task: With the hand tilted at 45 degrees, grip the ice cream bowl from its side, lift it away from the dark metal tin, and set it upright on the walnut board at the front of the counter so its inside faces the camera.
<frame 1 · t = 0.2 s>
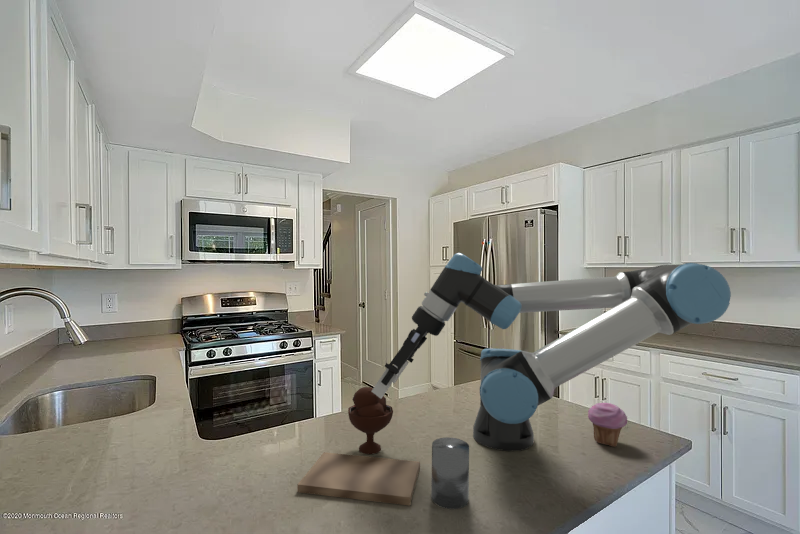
hand: (383, 387, 95), 15 cm above the counter, tool tilted 35°, fingers open, 13 cm apart
cupcake: (607, 443, 101), on the counter
walnut board: (362, 479, 82), on the counter
ice cream bowl: (369, 449, 96), on the counter
metal tin: (449, 498, 76), on the counter
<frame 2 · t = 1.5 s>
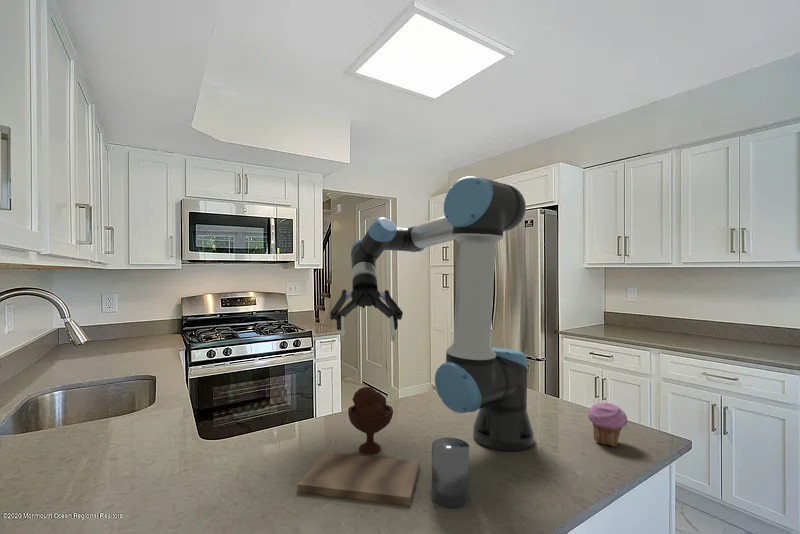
hand: (368, 338, 106), 25 cm above the counter, tool tilted 45°, fingers open, 13 cm apart
nothing on the counter moved.
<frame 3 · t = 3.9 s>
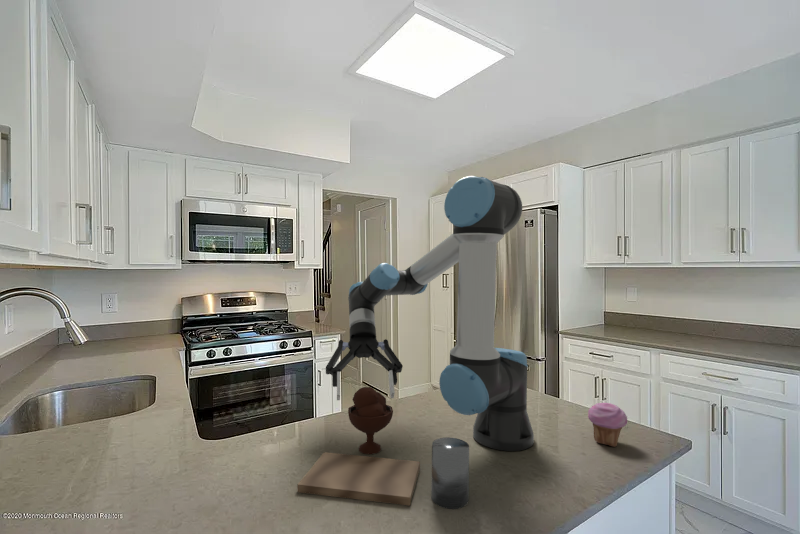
hand: (365, 396, 100), 11 cm above the counter, tool tilted 45°, fingers open, 13 cm apart
nothing on the counter moved.
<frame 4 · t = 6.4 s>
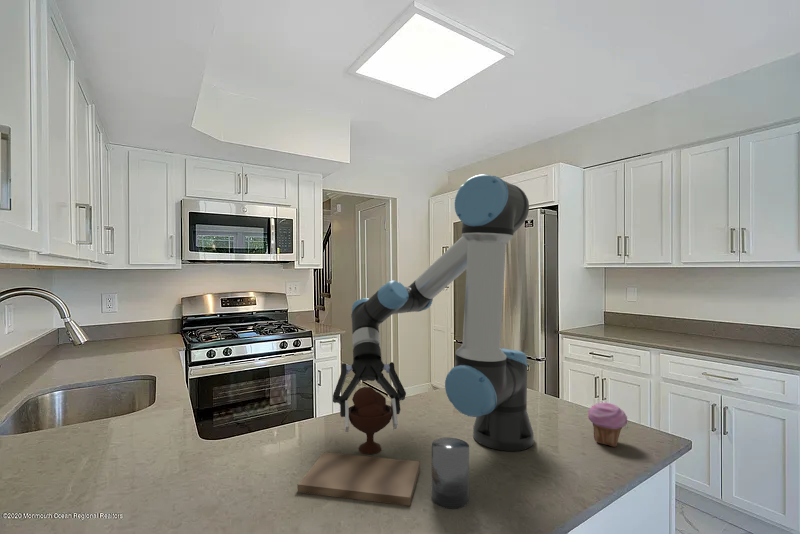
hand: (371, 428, 93), 6 cm above the counter, tool tilted 45°, fingers closed on ice cream bowl, 11 cm apart
ice cream bowl: (370, 449, 96), on the counter, touching gripper
everything else where it was.
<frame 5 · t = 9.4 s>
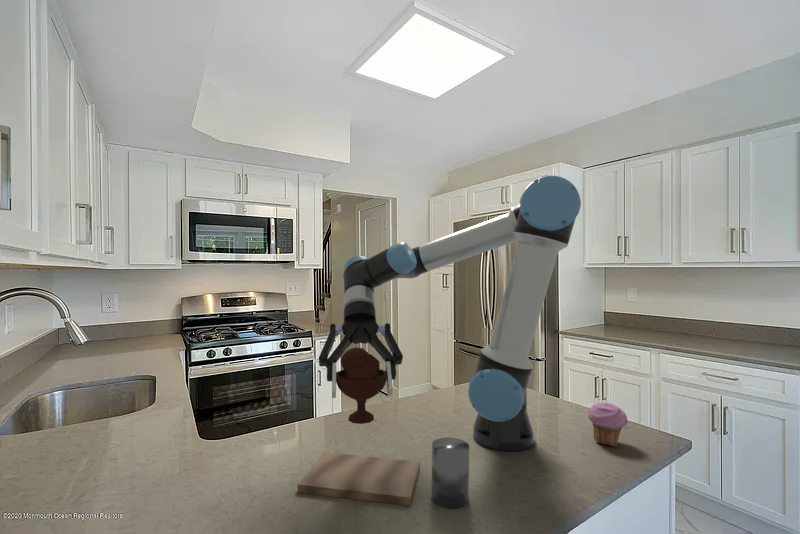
hand: (362, 393, 81), 18 cm above the counter, tool tilted 45°, fingers closed on ice cream bowl, 11 cm apart
ice cream bowl: (361, 419, 83), point 12 cm above the counter, touching gripper
everything else where it was.
when the fingers open (9 cm above the counter, at t = 12.7 s): ice cream bowl drops 1 cm, resting on walnut board.
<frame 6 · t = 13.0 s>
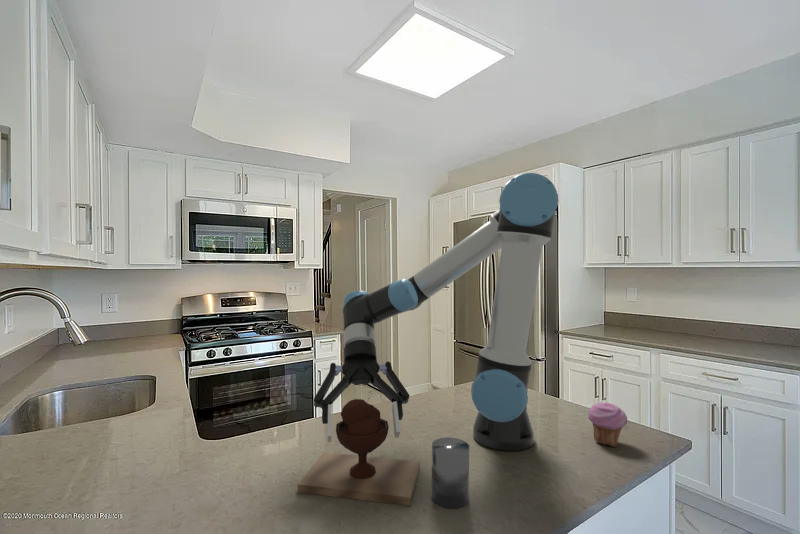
hand: (363, 437, 80), 10 cm above the counter, tool tilted 45°, fingers open, 13 cm apart
ice cream bowl: (362, 472, 82), point 1 cm above the counter, touching walnut board
everything else where it was.
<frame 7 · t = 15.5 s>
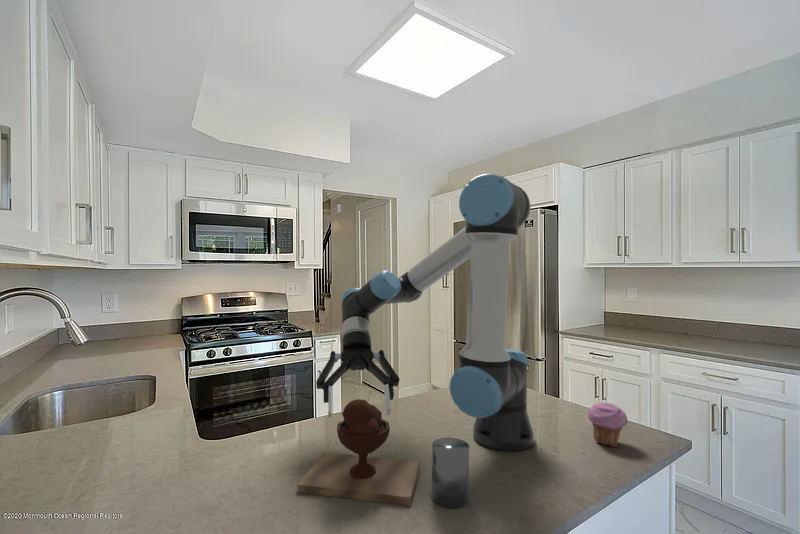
hand: (359, 413, 92), 10 cm above the counter, tool tilted 45°, fingers open, 13 cm apart
nothing on the counter moved.
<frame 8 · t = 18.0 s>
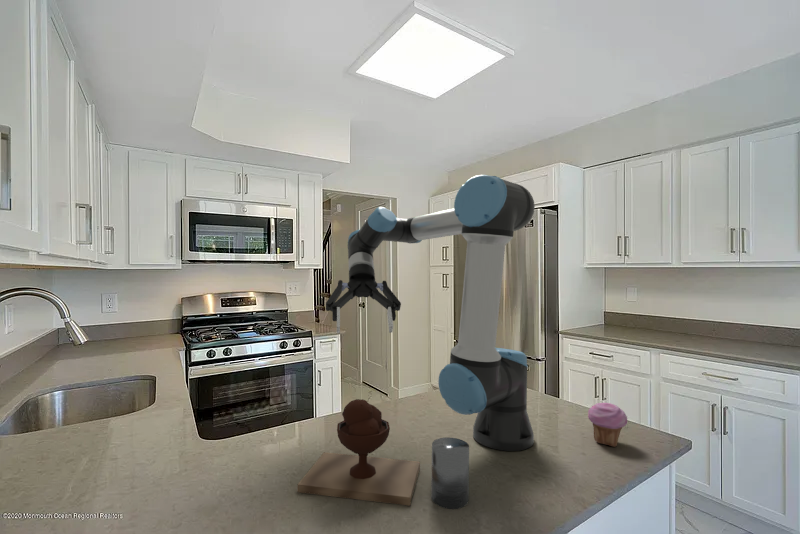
hand: (365, 329, 102), 28 cm above the counter, tool tilted 45°, fingers open, 13 cm apart
nothing on the counter moved.
at the end: ice cream bowl inside the target area on the walnut board (0.1 cm from its centre), point 1.3 cm above the walnut board's base; ice cream bowl tilted 0°; the gripper is holding nothing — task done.
